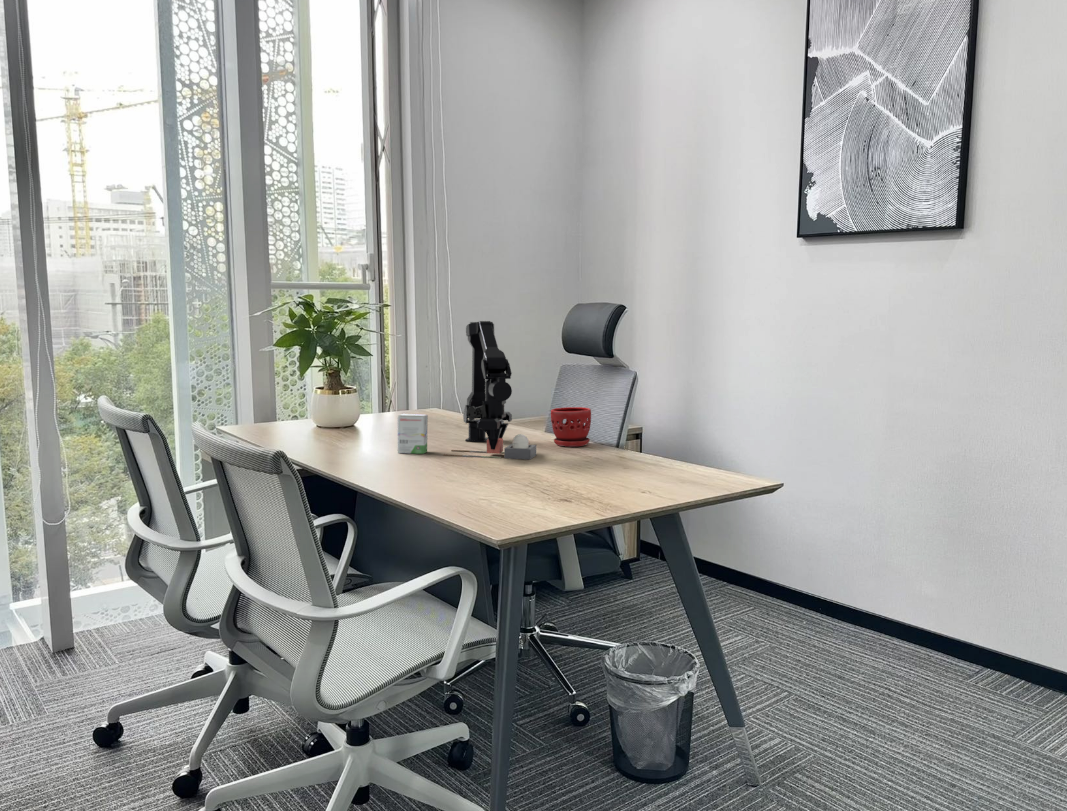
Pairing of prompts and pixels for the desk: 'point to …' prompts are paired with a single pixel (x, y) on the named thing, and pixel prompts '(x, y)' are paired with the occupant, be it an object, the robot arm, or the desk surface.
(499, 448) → the die
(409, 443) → the ink box
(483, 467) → the desk surface
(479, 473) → the desk surface
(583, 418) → the plant pot
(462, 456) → the track
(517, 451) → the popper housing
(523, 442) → the dome
